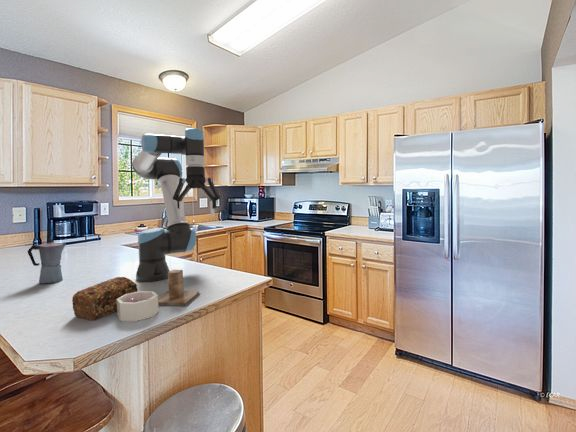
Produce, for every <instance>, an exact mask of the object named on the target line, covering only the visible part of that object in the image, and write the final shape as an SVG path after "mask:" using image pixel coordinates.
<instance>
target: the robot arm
mask: <svg viewBox="0 0 576 432" xmlns="http://www.w3.org/2000/svg"><path fill="white" fill-rule="evenodd" d="M140 145H141V151H140V153H139V154H138V155H136V156H135V157H134V158H133V160H132V161H131V167H132V170H133V172H134V173H135V174H136V175H138V177H141V178H142V179H144V180H146V179H147V180H156V181H157V184H158V185H159V186H160V187H161V190H162V196H163V197H162V198H163V201H164V207H165V212H166V219H167V223H168V225H167V226H166V227H165V229H164V227H155V228H149V229H146V230H145V229H144V230H143V231H140V232H139V233H138V237H137V245H138V258H139V259H138V260H139V261H138V262H139V263H138V266H137V270H136V274H135V279H136V281H138V282H156V281H161V280H162V281H163V280H166V279H168V272H170V271H171V270H170V268H169V266H168V263H167V261H166V255H170V254H171V255H172V254H180V253H186V252H191V251H193V250H194V249H195V246H196V244H197V243H196V242H197V233H196V229H195V228H193V227H191V224H190V223H188V222H187V219H186V215H185V202H184V200H183V199H184V198H185V197H186V195H187V194H188V193H189V192H190V190H191V189H202V190H203V192H204V193H205V194H206V195H207V196H208V198H210V203H209V205H210V207H209V208H210V218H213V217H215V215H216V214H215V210H216V209H217V201H219V200H220V199H222V198H221V196H220V194H219V191H218V189H217V188H216V185H215V184H214V181H213V177H206V170H205V137H204V131H203V129H201V128H195V127H193V128H192V127H188V128H186V129H184V136H179V135H166V134H154V133H144V134H143V135H141V143H140ZM162 154H173V155H174V154H175V155H183V156H185V165H186V168H185V170H186V172H185V173H186V174H185V175H186V178H184V177H183V168H182V164H181V162H180V160H179V159H176V158H174V157H173V158H171V157H160V156H161V155H162ZM185 183H187V184H186V186H185V187H184V185H185ZM206 183H207V184H208V185H209V188H210V189H211V190H209V188H208V187H207V185H206ZM183 188H184V189H183ZM182 189H183V190H182Z"/></svg>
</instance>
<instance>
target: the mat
mask: <svg viewBox="0 0 576 432" xmlns="http://www.w3.org/2000/svg"><path fill="white" fill-rule="evenodd" d="M200 295H201V293H200V292H199V294H198V295H197V296H196V297H194V298H193V299H192V300H191V301H190V302H189V303H188V304H187V305H162V304H158V306H160V307H161V306H162V307H163V306H167V307H169V306H170V307H188V306H189V305H191V303H192V302H194V301H195V300H196V299H197V298H198V297H199V296H200Z"/></svg>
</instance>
